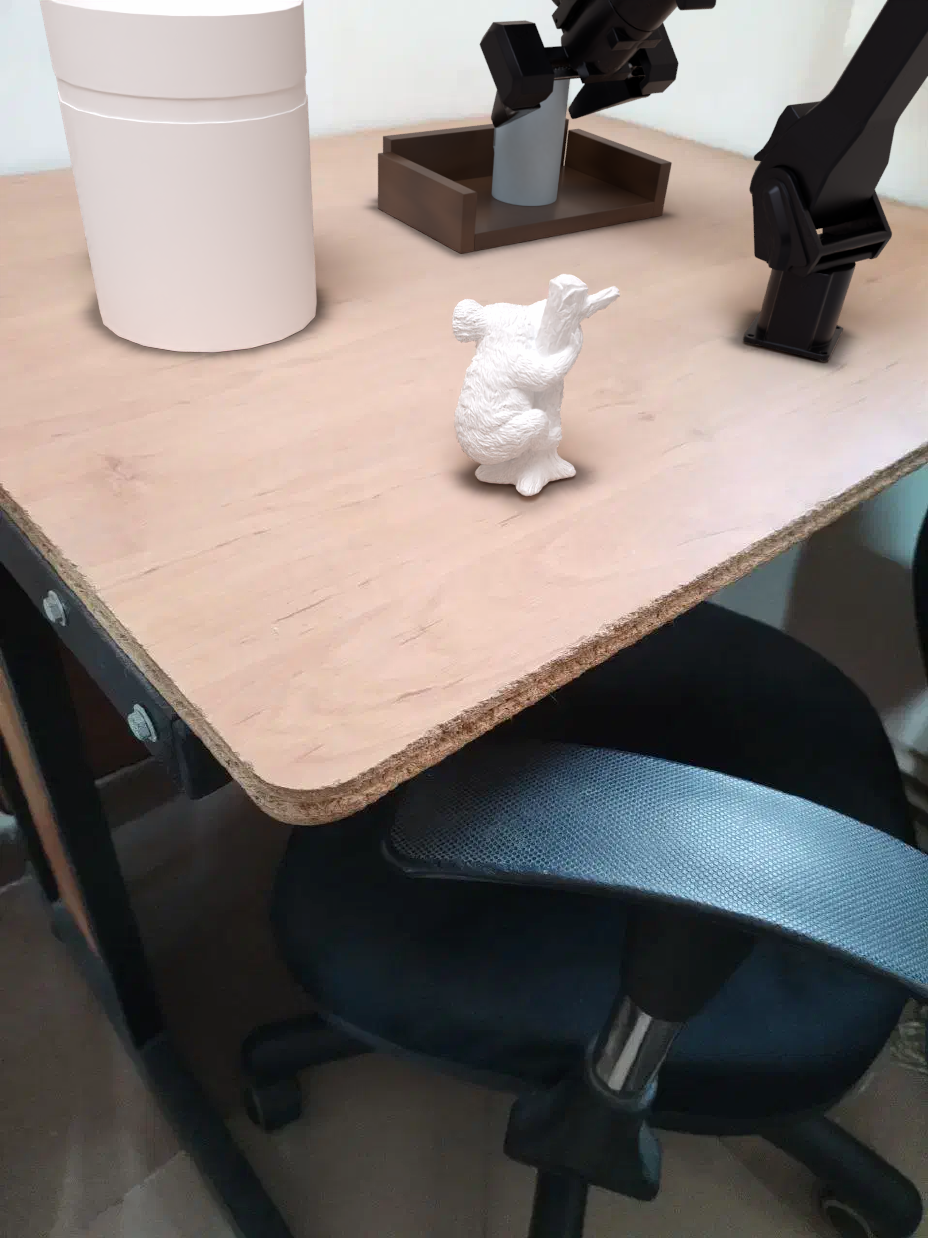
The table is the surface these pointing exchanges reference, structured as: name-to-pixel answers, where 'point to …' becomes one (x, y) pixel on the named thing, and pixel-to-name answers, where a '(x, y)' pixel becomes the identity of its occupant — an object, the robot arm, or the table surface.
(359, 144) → the table surface
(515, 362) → the koala figurine
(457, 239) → the tray
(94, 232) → the canister
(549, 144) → the pale blue cylinder
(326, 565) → the table surface
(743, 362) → the table surface
